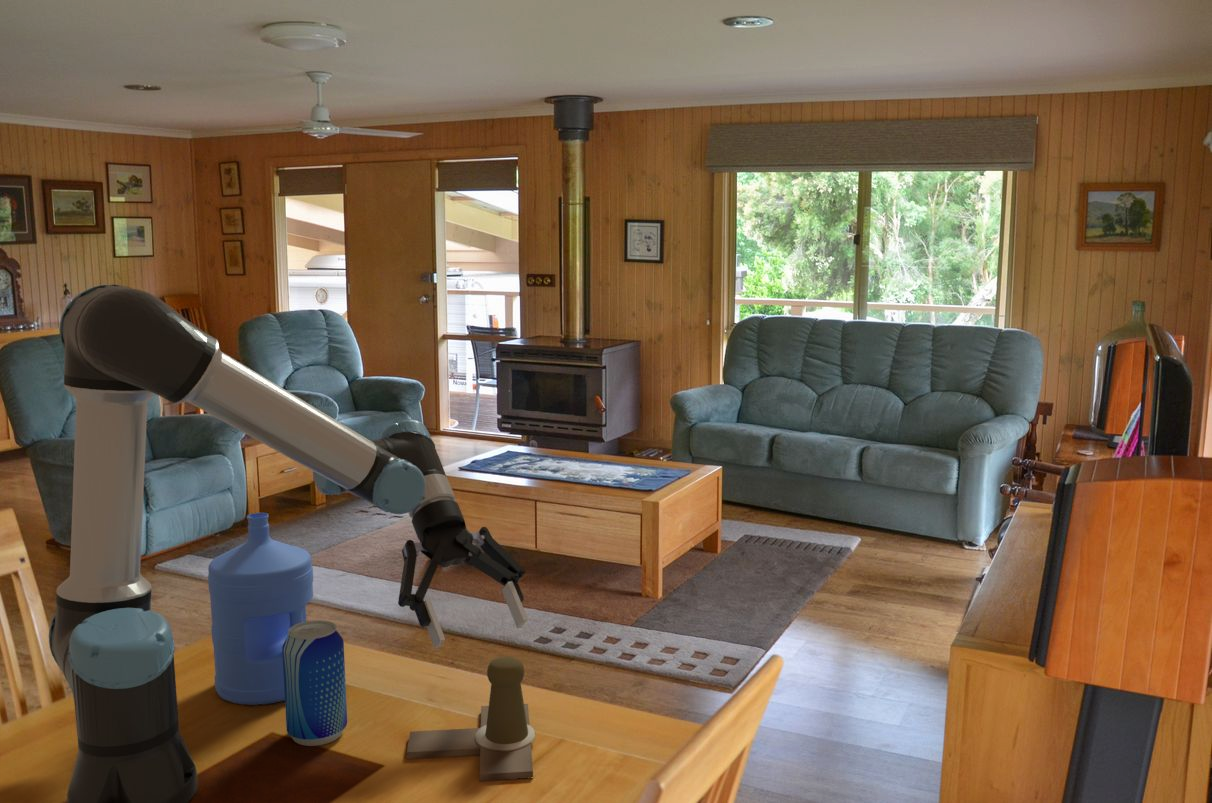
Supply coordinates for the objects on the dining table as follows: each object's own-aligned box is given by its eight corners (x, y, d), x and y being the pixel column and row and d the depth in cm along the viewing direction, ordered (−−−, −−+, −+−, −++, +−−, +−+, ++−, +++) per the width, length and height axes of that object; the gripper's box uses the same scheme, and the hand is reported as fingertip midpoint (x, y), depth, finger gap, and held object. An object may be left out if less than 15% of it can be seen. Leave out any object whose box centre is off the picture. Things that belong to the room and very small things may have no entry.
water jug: (193, 697, 162) (180, 523, 158) (262, 659, 176) (253, 498, 172) (273, 714, 156) (263, 534, 152) (338, 674, 170) (330, 508, 166)
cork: (522, 745, 144) (521, 670, 142) (480, 742, 145) (478, 667, 143) (532, 725, 150) (531, 653, 148) (491, 722, 151) (490, 650, 149)
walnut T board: (402, 785, 136) (402, 776, 136) (413, 715, 156) (413, 707, 156) (538, 777, 138) (538, 768, 138) (532, 709, 158) (532, 701, 157)
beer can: (318, 716, 156) (313, 613, 153) (359, 729, 152) (355, 624, 149) (274, 739, 149) (268, 632, 146) (316, 754, 144) (311, 644, 142)
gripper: (496, 511, 170) (545, 627, 161) (350, 536, 156) (395, 665, 147) (512, 486, 165) (564, 604, 156) (363, 509, 151) (410, 641, 141)
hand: (482, 634), depth 151 cm, fingers open, 13 cm apart
